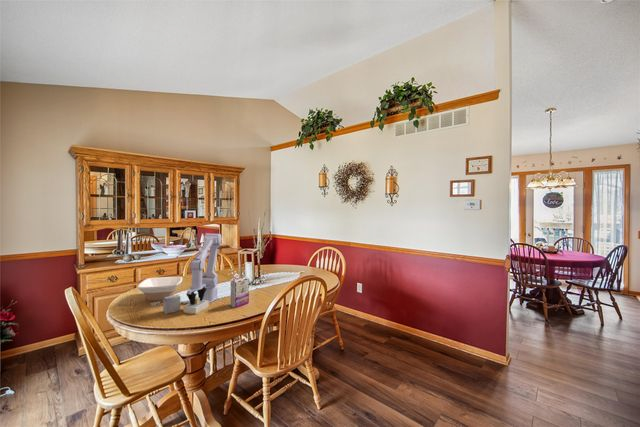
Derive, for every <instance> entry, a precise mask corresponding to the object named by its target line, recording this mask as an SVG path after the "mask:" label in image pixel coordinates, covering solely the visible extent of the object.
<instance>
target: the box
mask: <svg viewBox="0 0 640 427" xmlns="http://www.w3.org/2000/svg"><path fill="white" fill-rule="evenodd" d="M202 301H206V302H204V303H202V304H200V305H198V306H197V307H191V306H187V305H189V304H190V302H188V303H187V304H185V305H184V306H183V314H188V315H189V314H190V315H197V314H200V313H202V312H203V311H204V310H206V309H207V308H209V304H210V303H209V301H208V300H202Z"/></svg>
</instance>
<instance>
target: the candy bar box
mask: <svg viewBox="0 0 640 427" xmlns="http://www.w3.org/2000/svg"><path fill="white" fill-rule="evenodd" d="M249 289H250V278H249V277H246V276H244V277H240V278H237V279H236V278H235V279H234V280H231V281H230V307H231V308H234V309H237V308H239V307H242V306H244V305H247V304H249V302H250V299H249V298H250V294H249V293H250V290H249Z"/></svg>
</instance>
